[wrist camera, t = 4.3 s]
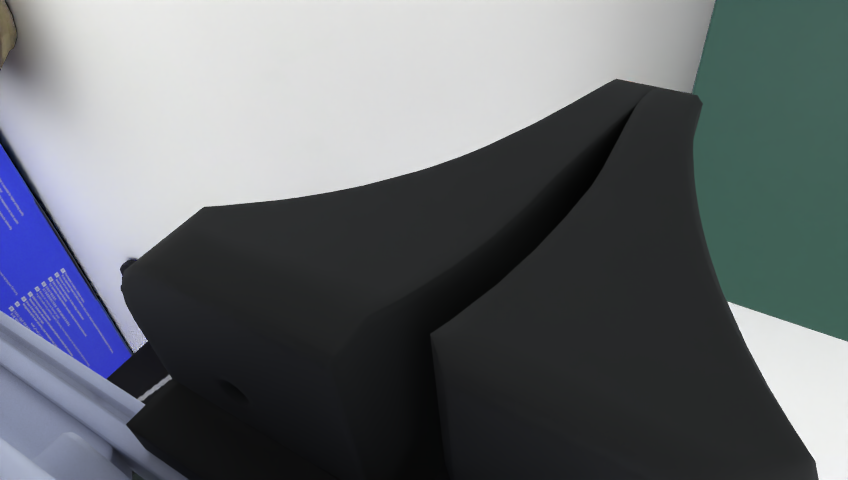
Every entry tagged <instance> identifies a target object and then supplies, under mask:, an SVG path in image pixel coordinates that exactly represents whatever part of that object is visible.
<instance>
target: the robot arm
mask: <svg viewBox="0 0 848 480" xmlns="http://www.w3.org/2000/svg"><path fill="white" fill-rule="evenodd" d="M702 106H703V103H702V102H701V100H700V99H699V97H698V95H694V94H689V93H684V92H679V91H674V90H669V89H664V88H659V87H654V86H649V85H644V84H639V83H634V82H629V81H624V80H619V79H615V80H613V81H611V82H609V83H607V84H605V85H604V86H602V87H600V88H598V89H596V90H595V91H593V92H591V93H589V94H587V95H586V96H584V97H582V98H580V99H579V100H577V101H575V102H573V103H572V104H570V105H568V106H566V107H564V108H562V109H560V110H559V111H557V112H555V113H553V114H551V115H549V116H548V117H546V118H544V119H542V120H540V121H538V122H536V123H534V124H532V125H530V126H528V127H526V128H524V129H522V130H520V131H518V132H515V133H513V134H511V135H509V136H507V137H505V138H503V139H501V140H498V141H496V142H494V143H492V144H490V145H488V146H486V147H483V148H481V149H479V150H476V151H474V152H471V153H469V154H466V155H463V156H461V157H458V158H456V159H453V160H450V161H447V162H444V163H441V164H438V165H436V166H433V167H430V168H427V169H423V170H420V171H417V172H413V173H409V174H405V175H402V176H398V177H394V178H390V179H387V180H383V181H379V182H375V183H372V184H368V185H364V186H359V187H354V188H349V189H344V190H339V191H334V192H329V193H323V194H317V195H311V196H305V197H299V198H291V199H284V200H276V201H266V202H255V203H245V204H235V205H225V206H211V207H203V208H202V209H201V210H199V211H198V212H197V213H196V214H194V215H193V216H192V217H191V218H189V219H188V220H187V221H186V222H184V223H183V224H182V225H181V226H179V227H178V228H177V229H176V230H174V231H173V232H172V233H171V234H169V235H168V236H167V237H166V238H164V239H163V240H162V241H161V242H159V243H158V244H157V245H156V246H154V247H153V248H152V249H151V250H149V251H148V252H147V253H146V254H144V255H143V256H142V257H141V258H139V259H138V260H137V261H136V262H134V263H133V264H132V265H131V266H129V267H128V268H127V269H126V270H124V274H123V280H122V292H123V296H124V299H125V302H126V305H127V307H128V309H129V310H130V312H131V314H132V316H133V318H134V320H135V321H136V323H137V325H138V326H139V328H140V329H141V331H142V332H143V334H144V336H145V337H146V339H147V340H148V342H149V343H150V345H151V346H152V348H153V350H154V351H155V353H156V354H157V356H158V357H159V359H160V361H161V362H162V364H163V365H164V367H165V368H166V370H167V372H168V373H169V375H170V376H171V378H172V379H171V380H170V381H169V382H168V383H167V384H166V385H165V386H164V387H163V388H162V389H161V390H160V391H159V392H158V393H157V394H156V395H155V396H154V397H153V398H152V399H151V400H150V401H149V402H148V403H147V404H146V405H145V404H144V403H142V402H140V401H139V400H137V399H136V398H134V397H133V396H131V395H130V394H128V393H127V392H125V391H124V390H122V389H120V388H119V387H117V386H116V385H114V384H113V383H111V382H110V381H108V380H107V379H105V378H103V377H102V376H100V375H99V374H97V373H96V372H94V371H93V370H91V369H90V368H88V367H87V366H85V365H83V364H82V363H80V362H79V361H77V360H76V359H74V358H73V357H71V356H70V355H68V354H66V353H65V352H63V351H62V350H60V349H59V348H57V347H56V346H54V345H53V344H51V343H50V342H48V341H46V340H45V339H43V338H42V337H40V336H39V335H37V334H36V333H34V332H33V331H31V330H29V329H28V328H26V327H25V326H23V325H22V324H20V323H19V322H17V321H16V320H14V319H13V318H11V317H9V316H8V315H6V314H5V313H3V312H2V311H0V480H132V470H133V471H134V472H135V473H137V474H138V475H139V476H141V477H142V478H143V479H145V480H818V474H817V468H816V463H815V460H814V459H813V457H812V456H811V454H810V453H809V451H808V450H807V448H806V446H805V445H804V443H803V442H802V440H801V439H800V437H799V436H798V434H797V433H796V431H795V429H794V428H793V426H792V425H791V423H790V422H789V420H788V418H787V417H786V415H785V413H784V412H783V410H782V408H781V407H780V405H779V403H778V402H777V400H776V398H775V397H774V395H773V393H772V392H771V390H770V388H769V387H768V385H767V383H766V381H765V379H764V377H763V376H762V374H761V372H760V370H759V368H758V366H757V364H756V363H755V361H754V359H753V357H752V355H751V353H750V351H749V349H748V348H747V346H746V343H745V341H744V339H743V337H742V334H741V332H740V330H739V328H738V325H737V323H736V321H735V319H734V316H733V314H732V312H731V310H730V307H729V305H728V303H727V301H726V298H725V296H724V294H723V292H722V289H721V286H720V283H719V280H718V278H717V275H716V272H715V269H714V266H713V263H712V260H711V257H710V253H709V250H708V246H707V243H706V239H705V235H704V231H703V227H702V222H701V218H700V213H699V207H698V201H697V195H696V187H695V178H694V160H693V139H694V135H695V132H696V128H697V124H698V120H699V117H700V113H701V109H702Z"/></svg>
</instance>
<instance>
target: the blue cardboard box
mask: <svg viewBox="0 0 848 480" xmlns="http://www.w3.org/2000/svg"><path fill="white" fill-rule="evenodd" d="M0 311H2V312H3V313H5V314H6V315H8V316H9V317H11V318H13V319H14V320H16V321H17V322H19V323H20V324H22V325H23V326H25V327H26V328H28V329H29V330H31V331H33V332H34V333H36V334H37V335H39V336H40V337H42V338H43V339H45V340H46V341H48V342H50V343H51V344H53V345H54V346H56V347H57V348H59V349H60V350H62V351H63V352H65V353H66V354H68V355H70V356H71V357H73V358H74V359H76V360H77V361H79V362H80V363H82V364H83V365H85V366H87V367H88V368H90V369H91V370H93V371H94V372H96V373H97V374H99V375H100V376H102V377H103V378H105V379H107V378H108V377H109V376H110V375H111V374H112V373H113V372H115V371H116V370H117V369H118V368H119V367H120V366H121V365H122V364H123V363H124V362H126V361H127V360H128V359H129V358H130V357H131V356H132V355H133V353H132V352H131V350H130V349H129V348H128V346H127V345H126V343H125V341H124V340H123V338H122V336H121V335H120V333H119V332H118V330H117V328H116V327H115V325H114V323H113V322H112V320H111V318H110V317H109V315H108V313H107V312H106V310H105V309H104V307H103V305H102V304H101V302H100V301H99V299H98V298H97V296H96V294H95V293H94V291H93V289H92V287H91V285H90V284H89V282H88V280H87V279H86V277H85V276H84V274H83V272H82V271H81V269H80V268H79V266H78V264H77V263H76V261H75V259H74V258H73V256H72V255H71V253H70V252H69V250H68V248H67V247H66V245H65V244H64V242H63V240H62V239H61V237H60V235H59V234H58V232H57V231H56V229H55V228H54V226H53V224H52V223H51V221H50V220H49V218H48V217H47V215H46V214H45V212H44V211H43V209H42V208H41V206H40V205H39V203H38V202H37V200H36V199H35V197H34V196H33V194H32V193H31V191H30V189H29V188H28V186H27V185H26V183H25V181H24V180H23V178H22V177H21V175H20V174H19V172H18V170H17V169H16V167H15V166H14V164H13V163H12V161H11V159H10V158H9V156H8V155H7V153H6V152H5V150H4V148H3V147H2V145H1V144H0Z"/></svg>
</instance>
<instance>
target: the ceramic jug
mask: <svg viewBox="0 0 848 480" xmlns="http://www.w3.org/2000/svg"><path fill="white" fill-rule="evenodd" d="M16 39H17V33H16V28H15V24H14V21H13V17H12V14H11V12H10V10H9V8H8V7H7V5H6V3H5V1H4V0H0V70H1V68H2V66H3V63H4V61H5V59H6V57H7V55H8V53H9V51H10V50H11V49H13V48H14V46H15V42H16Z"/></svg>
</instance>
